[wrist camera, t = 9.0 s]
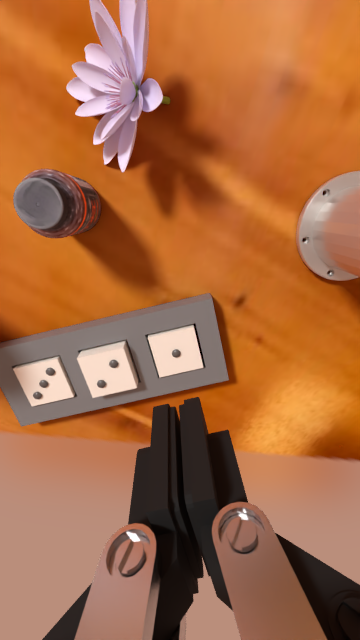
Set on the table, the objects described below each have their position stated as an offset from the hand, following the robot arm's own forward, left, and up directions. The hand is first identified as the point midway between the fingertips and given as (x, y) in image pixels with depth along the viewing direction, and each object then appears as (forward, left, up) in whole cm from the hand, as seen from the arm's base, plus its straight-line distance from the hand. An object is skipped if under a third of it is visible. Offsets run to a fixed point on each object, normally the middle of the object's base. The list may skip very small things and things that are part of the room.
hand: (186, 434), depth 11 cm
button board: (+11, +10, -29) cm, 33 cm away
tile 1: (+2, +10, -29) cm, 30 cm away
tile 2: (+11, +10, -27) cm, 31 cm away
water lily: (+1, -19, -29) cm, 35 cm away
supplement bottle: (+9, -10, -29) cm, 32 cm away
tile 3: (+20, +10, -29) cm, 36 cm away
